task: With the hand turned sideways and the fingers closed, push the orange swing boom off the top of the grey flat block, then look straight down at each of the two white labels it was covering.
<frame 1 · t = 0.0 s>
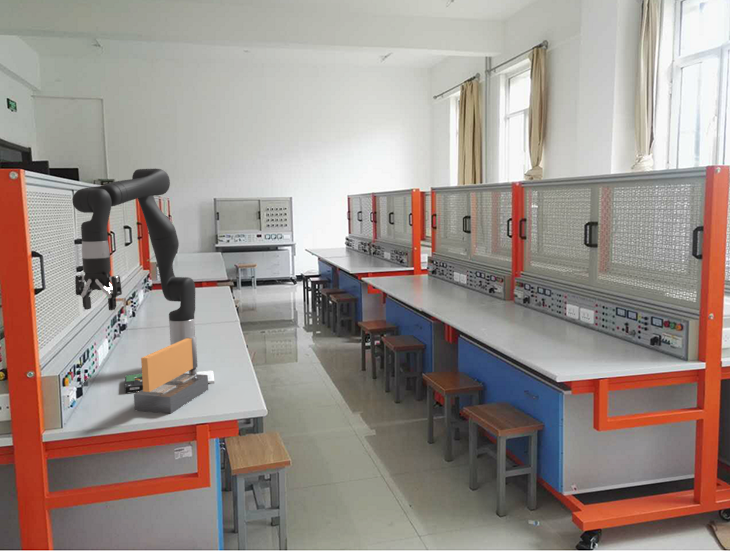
hand: (99, 309, 174), 29 cm above the table, tool pointing down, fingers open, 8 cm apart
external hard drive: (201, 381, 201), on the table
boom post: (193, 387, 192), on the table
disk drive: (141, 386, 196), on the table
swing boom: (171, 362, 179), point 12 cm above the table, hinge at 0.0°
grey flat block: (173, 399, 180), on the table
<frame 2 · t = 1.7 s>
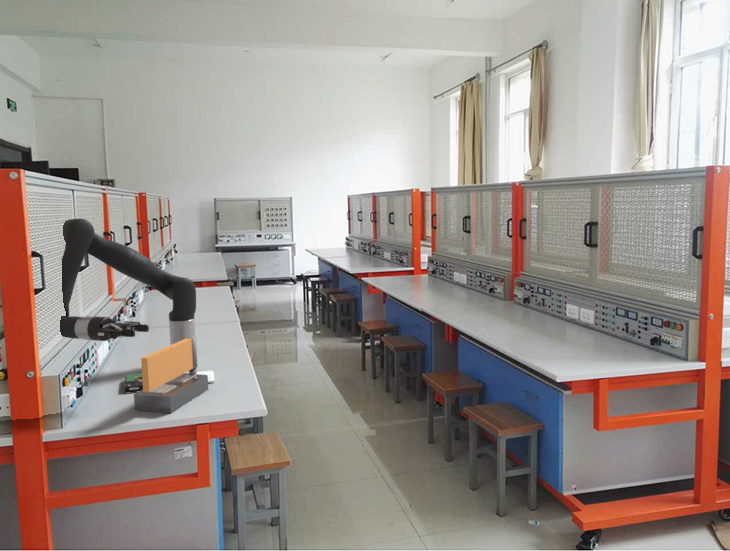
hand: (141, 330, 178), 22 cm above the table, tool horizontal, fingers open, 6 cm apart
nothing on the table moved.
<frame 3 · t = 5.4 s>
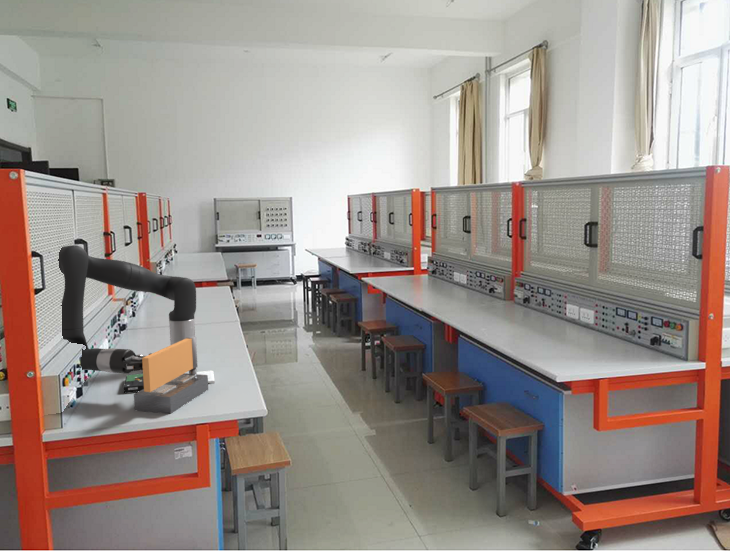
hand: (165, 363, 177), 12 cm above the table, tool horizontal, fingers closed
swing boom: (171, 362, 179), point 12 cm above the table, hinge at 0.8°, touching gripper
everything else where it was.
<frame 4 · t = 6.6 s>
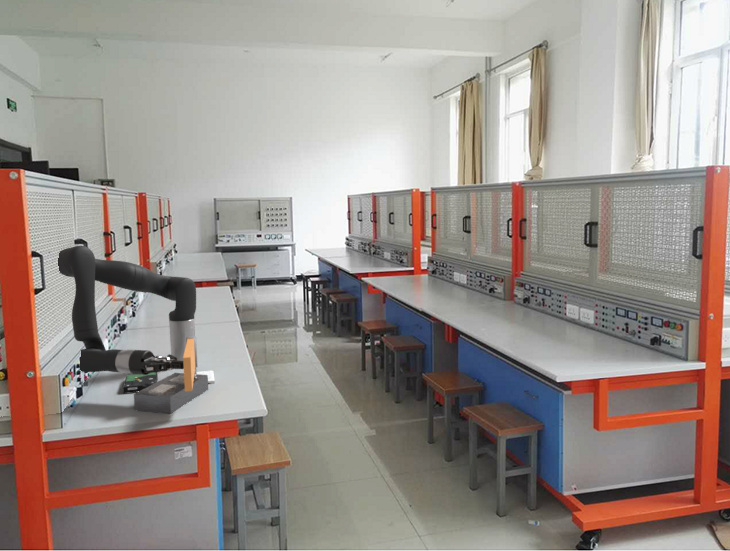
hand: (184, 365, 176), 12 cm above the table, tool horizontal, fingers closed
swing boom: (189, 362, 179), point 12 cm above the table, hinge at 27.7°, touching gripper
everything else where it was.
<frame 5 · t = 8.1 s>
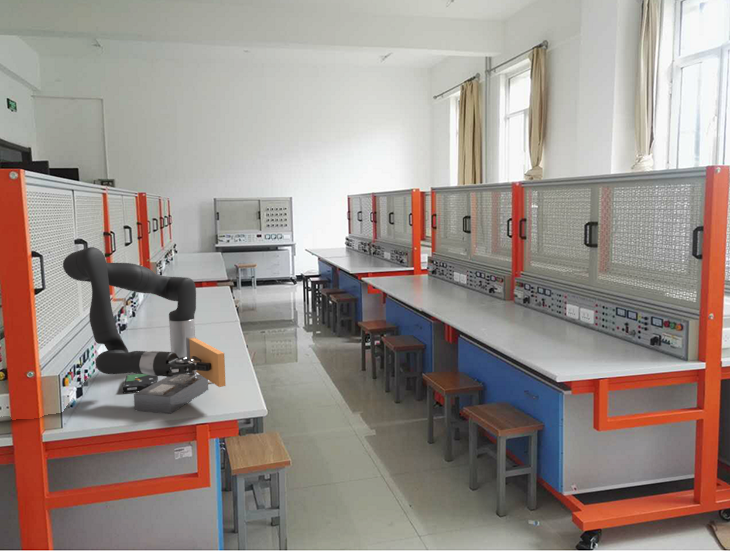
hand: (210, 366, 173), 12 cm above the table, tool horizontal, fingers closed
swing boom: (204, 360, 181), point 12 cm above the table, hinge at 49.6°
everything else where it was.
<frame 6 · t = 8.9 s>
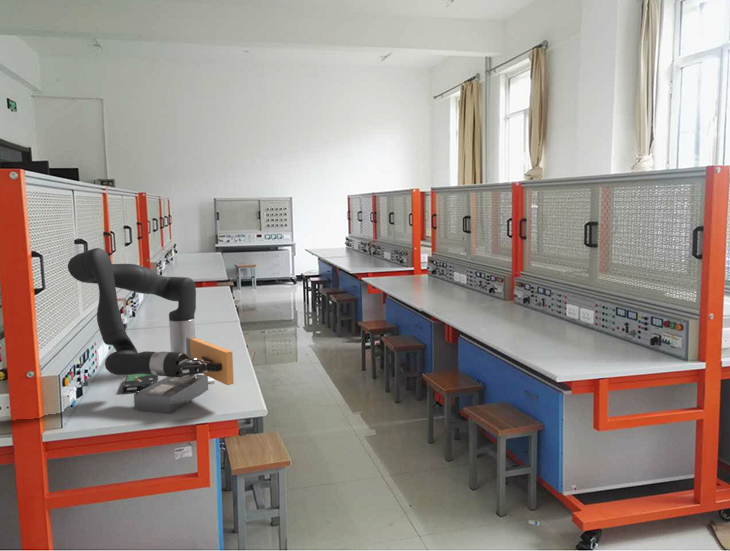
hand: (220, 367, 173), 12 cm above the table, tool horizontal, fingers closed
swing boom: (208, 359, 182), point 12 cm above the table, hinge at 55.5°, touching gripper
everything else where it was.
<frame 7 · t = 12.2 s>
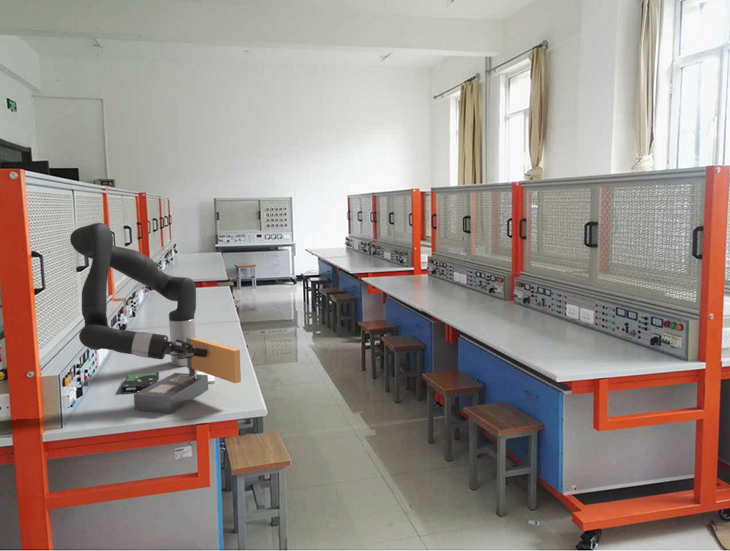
hand: (206, 353, 181), 14 cm above the table, tool horizontal, fingers closed
swing boom: (212, 358, 182), point 12 cm above the table, hinge at 61.5°, touching gripper
everything else where it was.
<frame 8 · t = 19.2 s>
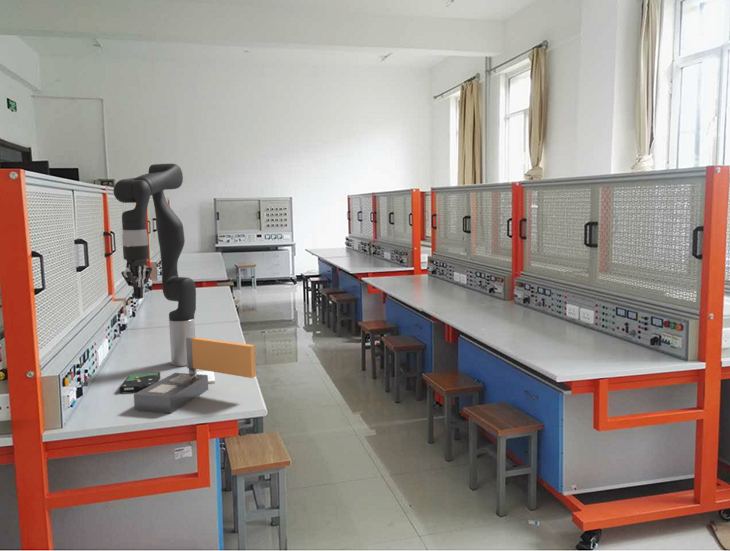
hand: (138, 298, 183), 31 cm above the table, tool pointing down, fingers closed
swing boom: (219, 356, 185), point 12 cm above the table, hinge at 76.0°
everything else where it was.
at the end: swing boom at +76° (first picture: +0°) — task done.
